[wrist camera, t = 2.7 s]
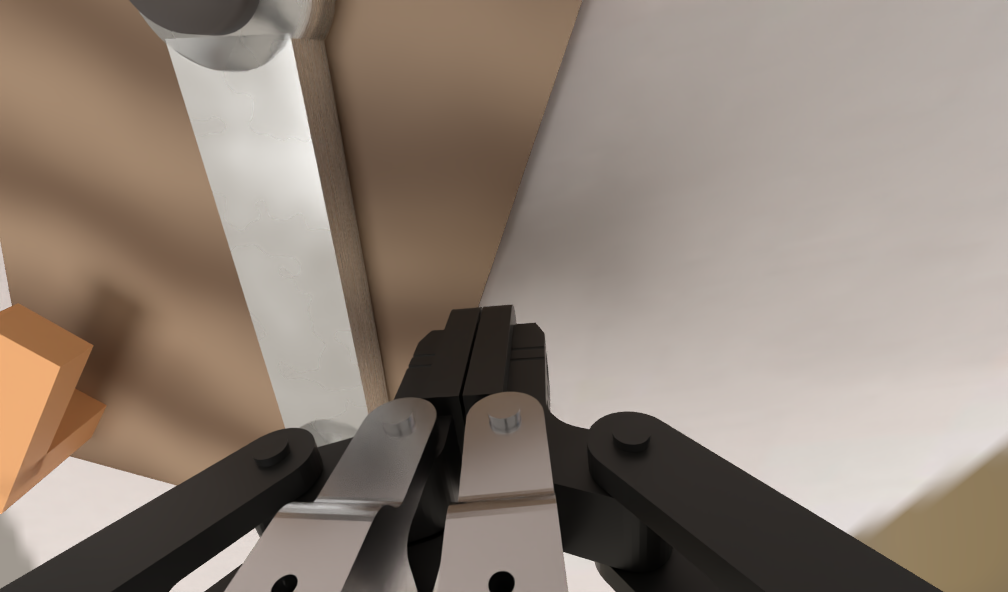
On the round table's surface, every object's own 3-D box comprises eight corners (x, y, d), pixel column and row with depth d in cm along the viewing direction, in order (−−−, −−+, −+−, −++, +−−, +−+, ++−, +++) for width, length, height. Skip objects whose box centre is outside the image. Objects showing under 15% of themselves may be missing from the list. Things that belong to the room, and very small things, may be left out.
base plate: (-31, -288, 12) (-361, -485, 8) (595, -46, 14) (622, -95, 9) (66, 424, 23) (-47, 512, 19) (404, 518, 25) (374, 621, 20)
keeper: (92, 267, 18) (-22, 321, 14) (155, 305, 18) (60, 367, 14) (37, 409, 21) (-67, 482, 17) (91, 437, 21) (1, 513, 18)
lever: (148, -120, 12) (80, -150, 10) (317, -133, 12) (277, -167, 10) (309, 445, 20) (287, 482, 19) (411, 448, 20) (398, 486, 18)
